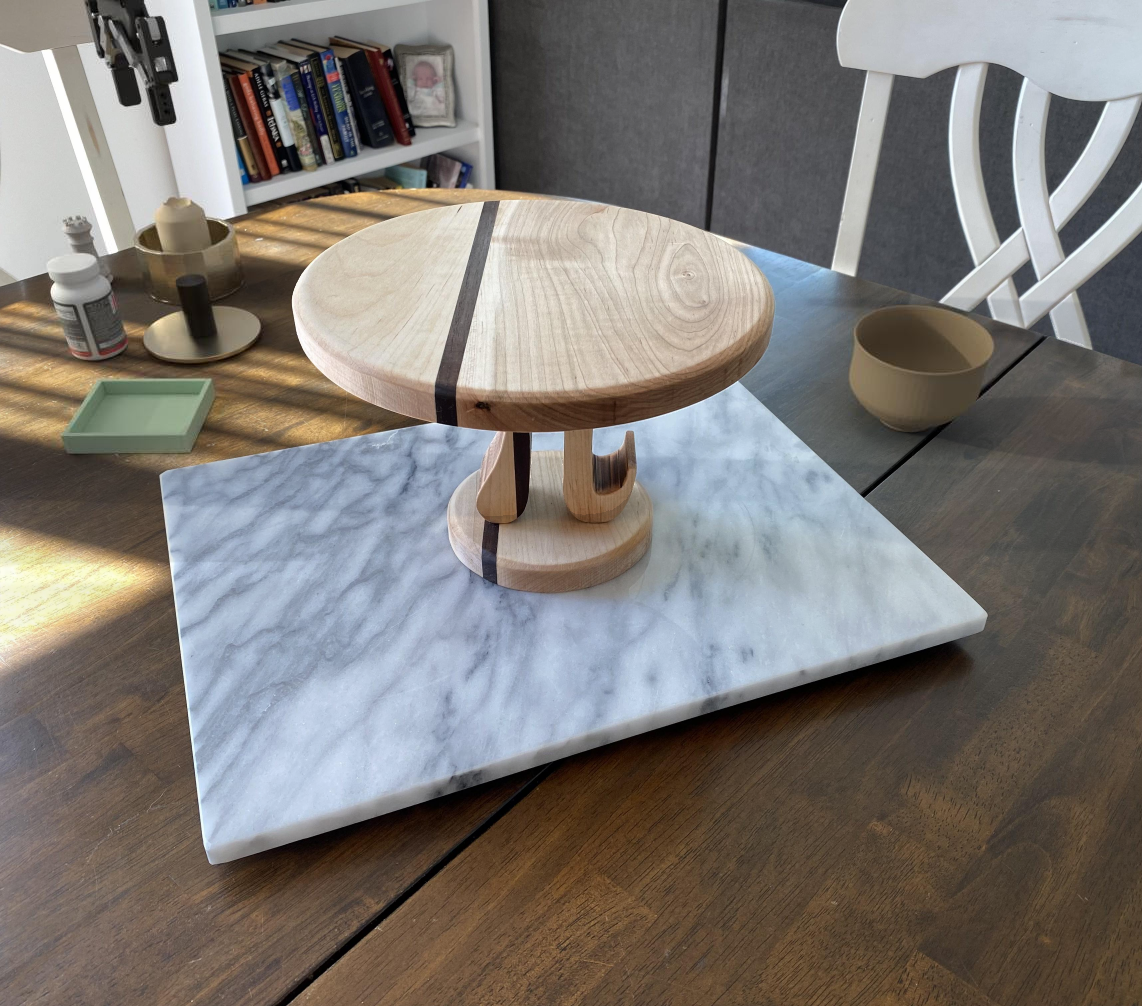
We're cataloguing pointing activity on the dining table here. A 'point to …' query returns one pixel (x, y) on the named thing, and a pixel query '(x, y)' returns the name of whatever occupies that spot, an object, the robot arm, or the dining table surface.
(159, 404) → the tray
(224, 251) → the pot
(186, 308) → the lid
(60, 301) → the pill bottle
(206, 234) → the candle
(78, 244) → the rook chess piece
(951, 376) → the bowl
